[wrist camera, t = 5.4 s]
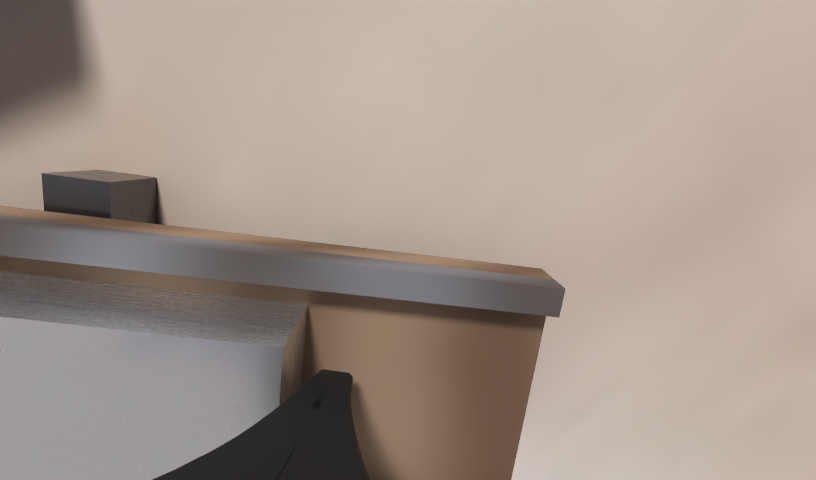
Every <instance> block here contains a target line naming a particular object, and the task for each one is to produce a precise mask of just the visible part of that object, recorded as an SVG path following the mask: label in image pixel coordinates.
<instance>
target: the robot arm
mask: <svg viewBox="0 0 816 480" xmlns="http://www.w3.org/2000/svg"><path fill="white" fill-rule="evenodd" d="M352 383H353V377H352V375H351V374H350V373H347V372H340V371H332V370H325V369H322V370H320V371H319V372H318V373H317V374H315V375H314V376H313V377H312V378H311V379H310V380H309V381H308V382H307V383H305V384H304V385H303V386H302V387H301V388H300V389H299V390H298V391H296V392H295V393H294V394H293V395H292V396H290V397H289V398H288V399H287V400H286V401H284V402H283V403H282V404H281V405H279V406H278V407H277V408H276V409H274V410H273V411H272V412H271V413H269V414H268V415H266V416H265V417H264V418H262V419H261V420H260V421H258V422H257V423H255V424H254V425H253V426H251V427H250V428H248V429H247V430H246V431H244V432H243V433H241V434H240V435H238V436H236V437H235V438H233V439H231V440H230V441H228V442H226V443H225V444H223V445H221V446H219V447H218V448H216V449H214V450H212V451H211V452H209V453H207V454H205V455H203V456H201V457H199V458H197V459H195V460H193V461H191V462H189V463H187V464H185V465H183V466H181V467H179V468H177V469H175V470H173V471H170V472H168V473H166V474H164V475H161V476H159V477H157V478H154V479H152V480H370V478H369V475H368V473H367V470H366V467H365V464H364V462H363V459H362V455H361V452H360V449H359V445H358V441H357V437H356V433H355V428H354V423H353V417H352V410H351V392H352Z"/></svg>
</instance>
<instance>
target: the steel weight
mask: <svg viewBox="0 0 816 480" xmlns="http://www.w3.org/2000/svg"><path fill="white" fill-rule="evenodd" d="M307 314H308V305H307V304H298V303H289V302H280V301H272V300H263V299H254V298H245V297H237V296H228V295H219V294H210V293H202V292H193V291H184V290H175V289H167V288H158V287H149V286H140V285H132V284H123V283H114V282H105V281H96V280H88V279H79V278H70V277H61V276H52V275H44V274H35V273H26V272H17V271H8V272H5V273H2V274H0V480H152V479H154V478H157V477H159V476H161V475H164V474H166V473H168V472H170V471H173V470H175V469H177V468H179V467H181V466H183V465H185V464H187V463H189V462H191V461H193V460H195V459H197V458H199V457H201V456H203V455H205V454H207V453H209V452H211V451H212V450H214V449H216V448H218V447H219V446H221V445H223V444H225V443H226V442H228V441H230V440H231V439H233V438H235V437H236V436H238V435H240V434H241V433H243V432H244V431H246V430H247V429H248V428H250V427H251V426H253V425H254V424H255V423H257V422H258V421H260V420H261V419H262V418H264V417H265V416H266V415H268V414H269V413H271V412H272V411H273V410H274V409H276V408H277V407H278V406H279V405H281V404H282V403H283V402H284V401H286V400H287V399H288V398H289V397H290V396H292V395H293V394H294V393H295V392H296V391H298V390H299V389H300V388H301V387H302V375H303V363H304V351H305V339H306V327H307Z"/></svg>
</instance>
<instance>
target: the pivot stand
mask: <svg viewBox="0 0 816 480" xmlns="http://www.w3.org/2000/svg"><path fill="white" fill-rule="evenodd" d="M42 185H43V199H44V211H48V212H56V213H65V214H74V215H82V216H91V217H99V218H108V219H117V220H125V221H134V222H143V223H151V224H156V178H155V177H147V176H139V175H132V174H124V173H116V172H108V171H101V170H92V171H74V172H57V173H42Z"/></svg>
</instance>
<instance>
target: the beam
mask: <svg viewBox="0 0 816 480" xmlns="http://www.w3.org/2000/svg"><path fill="white" fill-rule="evenodd" d="M8 271H17V272H26V273H35V274H44V275H52V276H61V277H70V278H79V279H88V280H96V281H105V282H114V283H123V284H132V285H140V286H149V287H158V288H167V289H175V290H184V291H193V292H202V293H210V294H219V295H228V296H237V297H245V298H254V299H263V300H272V301H280V302H289V303H298V304H307V305H308V314H307V327H306V339H305V351H304V363H303V375H302V386H303V385H304V384H305V383H307V382H308V381H309V380H310V379H311V378H312V377H313V376H314V375H315V374H317V373H318V372H319V371H320V370H322V369H325V370H332V371H340V372H347V373H350V374H351V375H352V377H353V383H352V392H351V410H352V417H353V423H354V428H355V433H356V437H357V441H358V445H359V449H360V452H361V455H362V459H363V462H364V464H365V467H366V470H367V473H368V475H369V478H370V480H511V477H512V472H513V468H514V463H515V458H516V454H517V449H518V444H519V440H520V435H521V430H522V426H523V421H524V416H525V412H526V407H527V402H528V398H529V393H530V388H531V384H532V379H533V374H534V370H535V365H536V360H537V355H538V351H539V346H540V341H541V337H542V332H543V327H544V323H545V318H546V316H551V317H559V315H560V311H561V306H562V302H563V297H564V293H565V288H564V287H563V286H561V285H560V284H559V283H558V282H557V281H555V280H554V279H553V278H552V277H551V276H549V275H548V274H547V273H546V272H545V271H543V270H542V269H539V268H530V267H522V266H513V265H504V264H496V263H487V262H478V261H470V260H461V259H453V258H444V257H435V256H427V255H418V254H410V253H401V252H392V251H384V250H375V249H366V248H358V247H349V246H341V245H332V244H323V243H315V242H306V241H298V240H289V239H280V238H272V237H263V236H255V235H246V234H237V233H229V232H220V231H211V230H203V229H194V228H186V227H177V226H168V225H160V224H151V223H143V222H134V221H125V220H117V219H108V218H99V217H91V216H82V215H74V214H65V213H56V212H48V211H39V210H31V209H22V208H13V207H5V206H0V274H2V273H5V272H8Z"/></svg>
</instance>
